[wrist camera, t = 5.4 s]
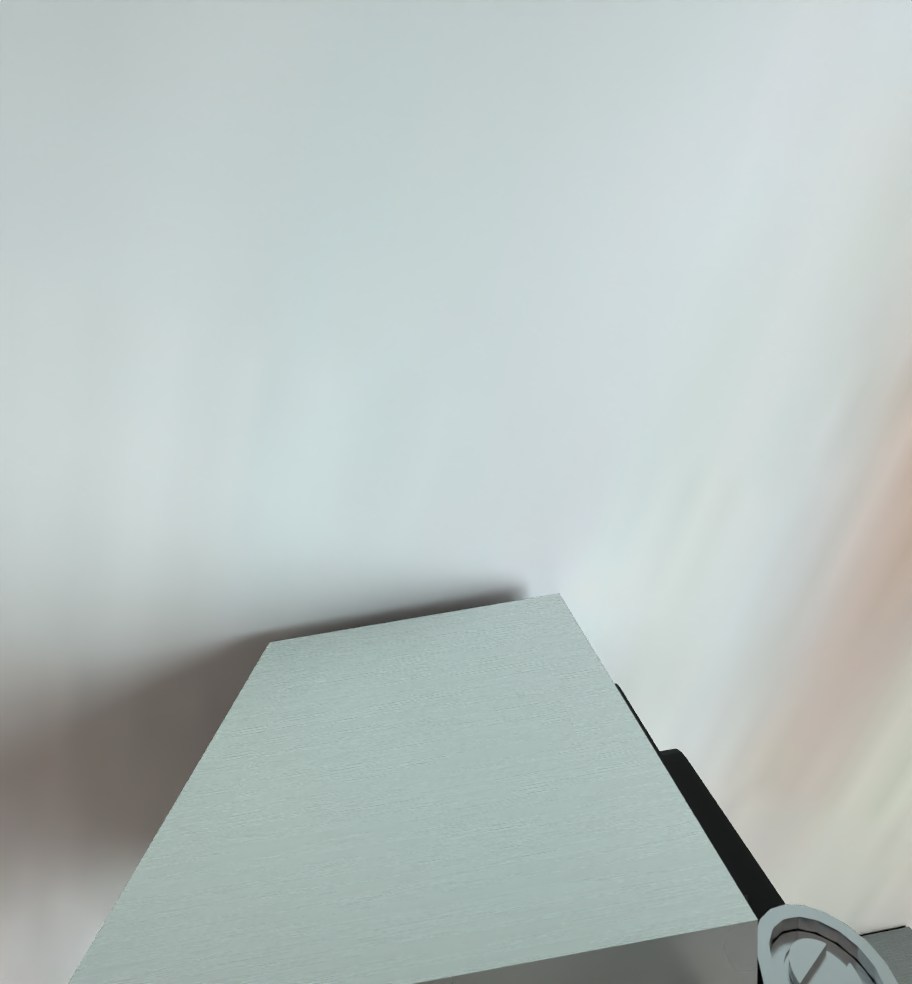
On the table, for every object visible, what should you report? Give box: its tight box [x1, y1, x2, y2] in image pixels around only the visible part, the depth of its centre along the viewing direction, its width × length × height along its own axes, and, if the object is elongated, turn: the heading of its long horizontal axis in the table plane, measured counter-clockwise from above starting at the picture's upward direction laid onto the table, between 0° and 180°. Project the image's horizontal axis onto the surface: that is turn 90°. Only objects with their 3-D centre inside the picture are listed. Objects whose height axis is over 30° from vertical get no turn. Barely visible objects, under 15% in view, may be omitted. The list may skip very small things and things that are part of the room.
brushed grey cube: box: [68, 594, 758, 984], centre depth 7 cm, size 6×6×6 cm
